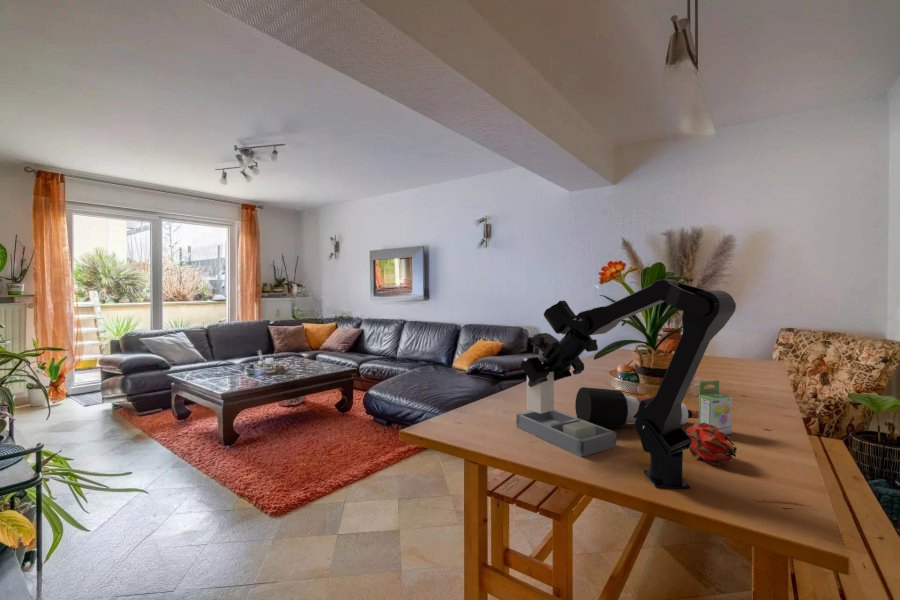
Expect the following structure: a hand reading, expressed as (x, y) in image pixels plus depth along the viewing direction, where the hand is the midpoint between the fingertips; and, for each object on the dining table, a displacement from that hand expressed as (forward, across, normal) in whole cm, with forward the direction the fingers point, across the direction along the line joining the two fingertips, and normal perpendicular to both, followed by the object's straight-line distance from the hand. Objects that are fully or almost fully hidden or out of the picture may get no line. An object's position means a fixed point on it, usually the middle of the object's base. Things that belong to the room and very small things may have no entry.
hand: (536, 384), depth 109 cm
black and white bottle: (-1, -26, +19) cm, 33 cm away
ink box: (-11, -36, +29) cm, 48 cm away
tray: (+4, -2, +14) cm, 15 cm away
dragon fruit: (-16, -18, +34) cm, 42 cm away
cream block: (+4, 0, +6) cm, 7 cm away
